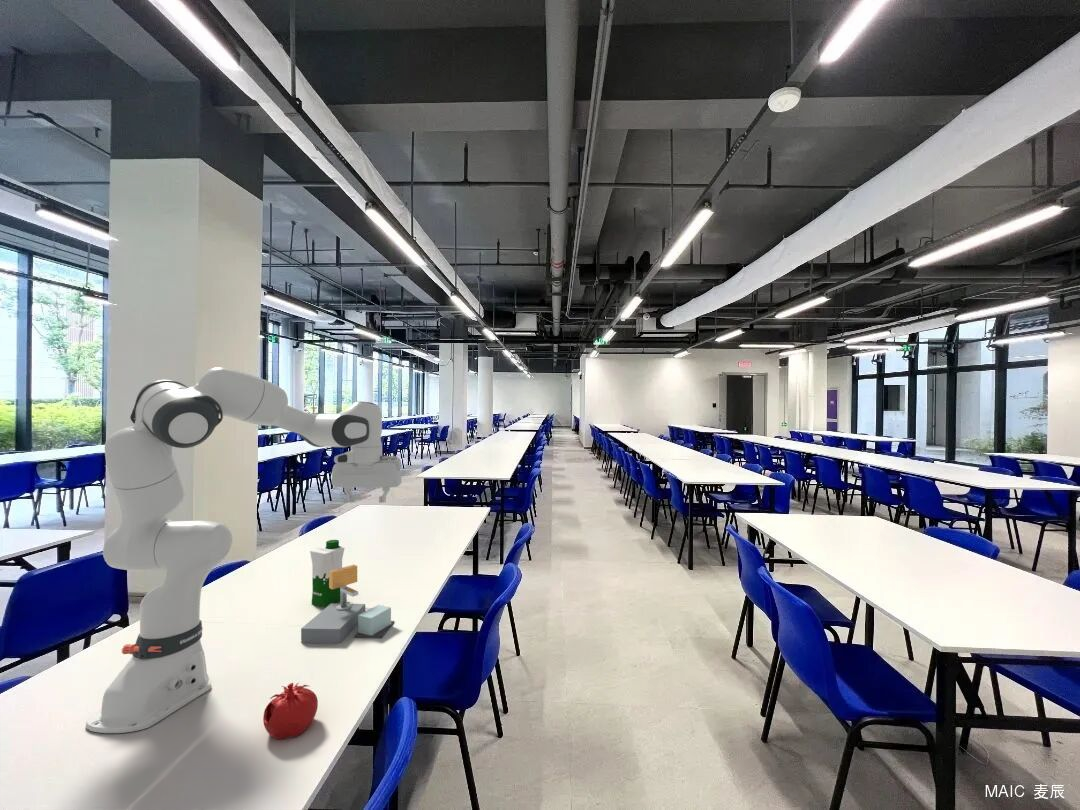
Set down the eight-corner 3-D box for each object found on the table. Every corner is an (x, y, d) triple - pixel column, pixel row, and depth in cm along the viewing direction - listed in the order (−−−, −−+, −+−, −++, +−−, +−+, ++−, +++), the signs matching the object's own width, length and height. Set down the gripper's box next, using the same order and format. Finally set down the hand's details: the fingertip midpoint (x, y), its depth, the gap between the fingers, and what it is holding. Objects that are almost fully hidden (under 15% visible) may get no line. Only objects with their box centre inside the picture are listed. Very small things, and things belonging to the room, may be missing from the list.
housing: (339, 643, 132) (339, 627, 132) (301, 642, 133) (301, 627, 133) (365, 616, 149) (365, 602, 149) (331, 616, 150) (330, 602, 150)
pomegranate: (325, 712, 103) (326, 669, 103) (304, 745, 93) (305, 696, 93) (278, 713, 102) (279, 669, 102) (252, 745, 92) (253, 696, 92)
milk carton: (347, 599, 163) (347, 541, 163) (324, 609, 155) (324, 548, 155) (330, 595, 167) (329, 538, 167) (306, 604, 159) (306, 544, 159)
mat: (381, 638, 135) (381, 636, 135) (354, 637, 136) (354, 636, 136) (394, 622, 145) (394, 620, 145) (368, 621, 146) (368, 620, 146)
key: (367, 608, 145) (367, 569, 145) (342, 617, 139) (342, 577, 139) (354, 601, 150) (353, 564, 150) (329, 609, 144) (329, 571, 144)
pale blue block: (371, 635, 136) (371, 618, 136) (358, 632, 138) (358, 615, 138) (391, 624, 143) (390, 607, 143) (378, 621, 145) (378, 604, 145)
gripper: (404, 454, 146) (404, 500, 145) (338, 455, 147) (339, 500, 146) (397, 456, 139) (397, 504, 139) (328, 457, 140) (329, 504, 140)
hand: (367, 502), depth 143 cm, fingers open, 8 cm apart
